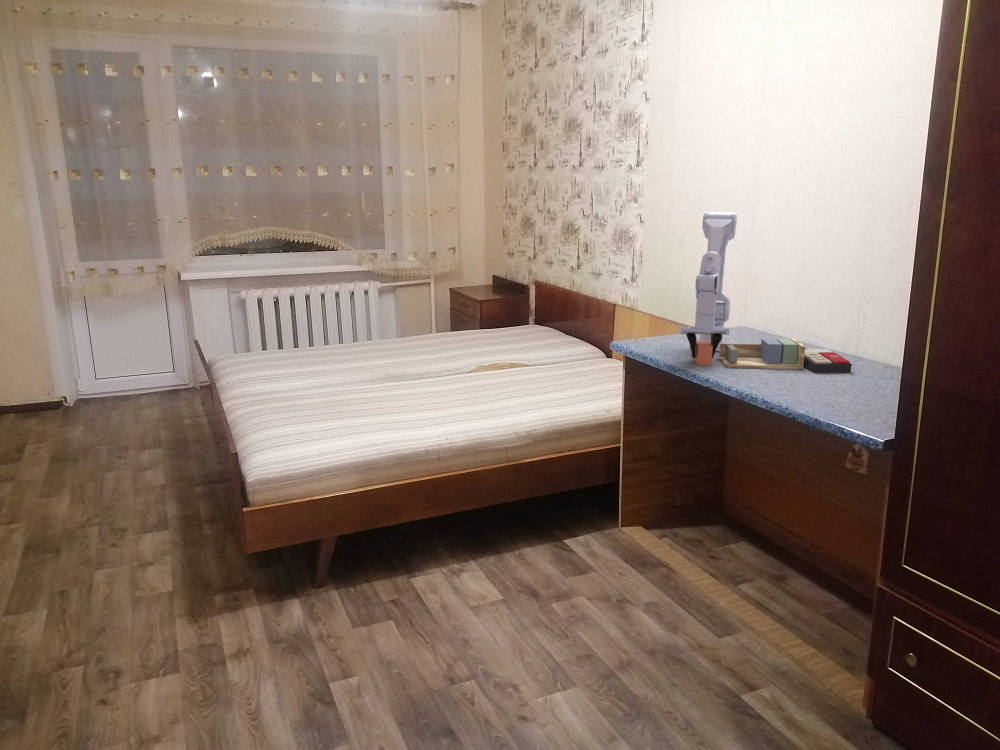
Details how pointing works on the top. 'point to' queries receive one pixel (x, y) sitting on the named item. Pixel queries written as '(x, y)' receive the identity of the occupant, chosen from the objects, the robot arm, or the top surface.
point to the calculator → (825, 361)
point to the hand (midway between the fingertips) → (702, 357)
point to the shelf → (758, 357)
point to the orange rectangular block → (703, 352)
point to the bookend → (731, 353)
